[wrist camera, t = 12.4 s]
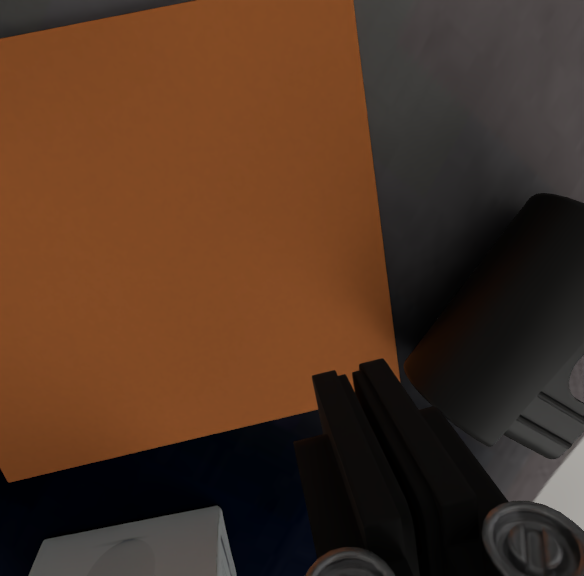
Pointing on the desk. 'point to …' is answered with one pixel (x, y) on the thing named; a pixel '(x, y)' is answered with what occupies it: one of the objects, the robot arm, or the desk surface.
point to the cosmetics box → (143, 548)
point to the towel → (182, 226)
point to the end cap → (514, 335)
